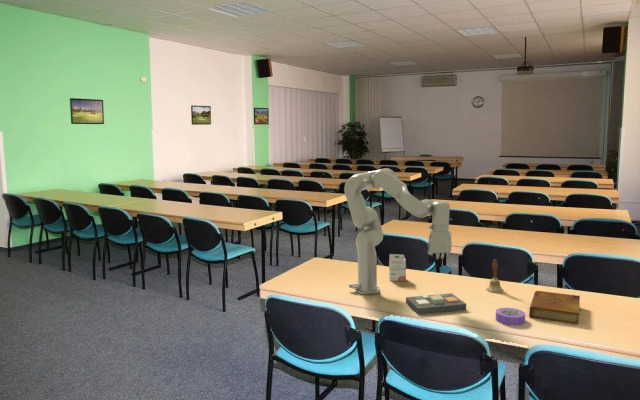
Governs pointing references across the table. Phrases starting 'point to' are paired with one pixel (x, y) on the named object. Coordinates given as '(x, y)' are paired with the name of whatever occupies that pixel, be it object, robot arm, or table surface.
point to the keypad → (435, 305)
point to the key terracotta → (451, 299)
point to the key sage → (436, 299)
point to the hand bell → (494, 280)
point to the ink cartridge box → (397, 268)
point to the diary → (555, 307)
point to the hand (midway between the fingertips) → (438, 266)
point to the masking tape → (510, 316)
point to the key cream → (422, 302)
